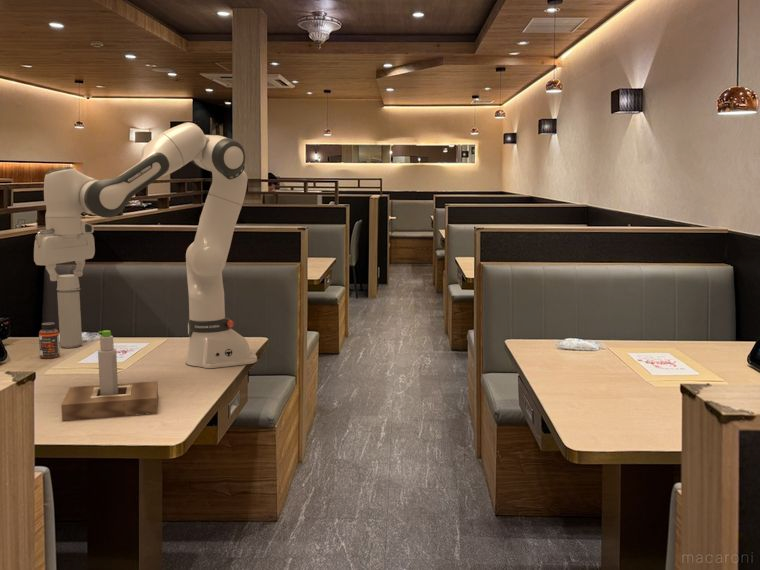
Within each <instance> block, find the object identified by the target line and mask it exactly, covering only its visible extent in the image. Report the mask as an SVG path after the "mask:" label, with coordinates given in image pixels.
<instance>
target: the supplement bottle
mask: <svg viewBox="0 0 760 570" xmlns="http://www.w3.org/2000/svg"><path fill="white" fill-rule="evenodd" d="M38 339H39V341H38V342H39V344H38V345H39V357H40V358H41V359H49V360H50V359H56V358H59V357H60V351H61V350H60V332H59V330H58V329H57V328H56V323H55V322H43V323H41V329H40V330H39V332H38Z"/></svg>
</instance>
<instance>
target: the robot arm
mask: <svg viewBox="0 0 760 570" xmlns="http://www.w3.org/2000/svg"><path fill="white" fill-rule="evenodd" d="M190 162H191V163H192V164H193V165H195V166H196V167H198V168H200V169H203V170H206V171H209V172H210V173H212V182H211V185H210V187H209V191H208V194H207V196H206V198H205V202H204V205H203V207H202V211H201V214H200V215H199V222H198V226H197V229H196V233H195V236H194V241H193V242H192V243H191V244H190V245H189V246H188V247H187V248H186V253H185V263H186V264H185V265H186V279H187V281H186V282H187V290H188V312H189V313H188V314H189V315H188V316H189V317H188V320H187V322H188V323H187V335H188V337H189V340H188V350H187V355H186V359H185V363H186V364H187V365H189V366H192V367H198V368H199V367H200V368H204V369H215V368H225V367H233V366H241V365H242V366H243V365H244V366H245V365H252V364H255V363H256V362H257V361H258V356H257V355H256V353H255V352H253V351H251V348H250V344H249V342H248V340H247V339H246V338H245V337H244V336H242V335H241V334H240V333H238V332H237V331H235V330H234V329H233V326H235V324H234V321H233V320H232V319H230V318H228V317H226V311H225V310H226V308H225V307H226V306H225V305H226V303H225V289H224V283H223V270H224V269H225V267H226V263H227V259H228V255H229V252H230V249H231V244H232V240H233V235H234V231H235V228H236V225H237V221H238V219H239V215H240V212H241V210H242V207H243V204H244V201H245V197H246V192H247V188H248V187H247V186H248V178H249V177H248V175H247V173H246V171H245V164H246V150H245V149H244V146H243V145H242V143H240V142H239V141H237V140H235V139H234V138H229V137H226V136H222V135H217V134H215V135H213V134H206V133H204V131H203V129H201V128H200V126H198V124H196V123H193V122H183V123H181V124H178V125H176V126H173V127H171V128H169V129H167V130H165V131H163V132H162V133H159V134H158V135H157V136H155V137H153V138H152V139H151V140H150V141H148V142H147V143H146V144H145V145H144V146H143V147H142V149H141V160H140V161H139V162H138V163H136V164H135V165H133V166H132V167H130V168H128V169H127V170H126V171H124V172H123V173H121V174H120V175H118V176H116V177H113V178H104V179H96V178H95V177H94V178H93V177H90V176H88V175H86V174H84V173H82V172H80V171H79V170H77V169H76V168H75V167H73V166H65V167H59V168H54V169H50V170H49V171H47V172H46V174H45V176H44V178H43V180H44V181H43V200H44V204H45V207H46V208H45V209H46V211H45V216H44V217H45V218H44V219H45V229H41V230H39V231H38V232H37V234H36V235H35V240H34V245H33V246H34V247H33V261H34V263H35V265H36V266H45V270H46V271H47V272H48V274H49V280H50V282H56V281H57V280H59V275H60V274H59V273H57V271H56V268H57V264H64V263H71V262H75V264H76V265H75V269H73V274H74V276H75V277H78V278H79V277H82V276H84V275H83V269H84V267H85V264H86V260H89V259H93V258H94V256H95V253H96V247H95V244H96V243H95V236H94V235H93V233H94V232H95V230H94V228H95V227H94V225H93V224H91V223H87V222H86V221H83V220H81V219H82V217H81V215H82V214H83V213H85V214H88V215H93V216H98V217H101V218H104V219H108V218H112V217H113V218H114V217H115V216H117V215H119V214H121V212H123V210H124V209H125V207H127V204H128V203H129V201H130V200H131V199H132V198H133V197H134V196H135V195H137V194H138V193H139V192H141V191H142V190H143V189H145V188H146V187H148V186H149V185H150V184H152V183H153V182H155V181H157V180H158V179H161V178H163V177H165V176H168V175H170V174H172V173H174V172H176V171H177V170H180V169H182V167H184V166H186V165H187V164H188V163H190Z"/></svg>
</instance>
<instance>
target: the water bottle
mask: <svg viewBox="0 0 760 570" xmlns="http://www.w3.org/2000/svg"><path fill="white" fill-rule="evenodd" d="M56 284H57V286H56V291H57V293H56V294H57V312H58V313H57V314H58V315H57V316H58V328H59V330H58V332H59V347H61V348H64V349H74V348H78V347H81V346H82V345H83V334H82V333H83V332H82V331H83V329H82V316H81V315H82V314H81V313H82V312H81V298H80V290H81V289H82V288H80V287H81V286H80V280H79V277H75V276H74V273H73V274H69V273H68V274H59V280H57V283H56Z"/></svg>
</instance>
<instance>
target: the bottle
mask: <svg viewBox="0 0 760 570" xmlns="http://www.w3.org/2000/svg"><path fill="white" fill-rule="evenodd" d="M97 334H101V336H100V337H99V341H100V342H99V343H100V347H99V348H100V349H99V350H98V351H97V358H98V376H99V379H98V380H99V385H100V396H105V395H118V384H119V382H118V380H119V379H118V378H119V376H118V361H117V360H118V359H117V357H118V356H117V348H115V347H114V336H113V335H112V332H111V330H108V329H107V330H102V331H101V330H100V331H98V332H97Z"/></svg>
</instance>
